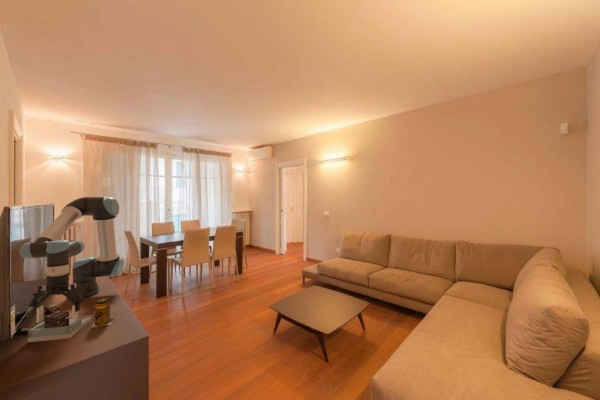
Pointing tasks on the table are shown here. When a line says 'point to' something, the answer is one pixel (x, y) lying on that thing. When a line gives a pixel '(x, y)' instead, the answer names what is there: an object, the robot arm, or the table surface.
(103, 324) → the condiment
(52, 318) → the box
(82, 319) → the tray
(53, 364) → the table surface
